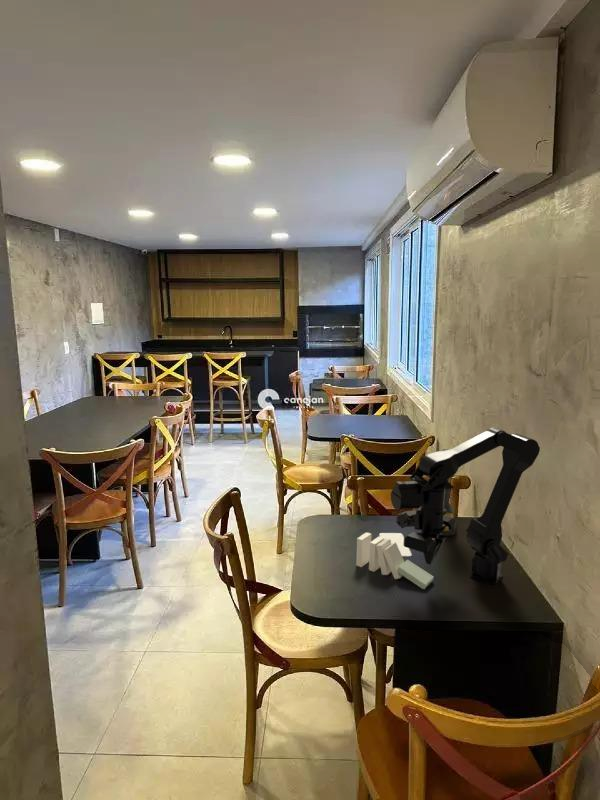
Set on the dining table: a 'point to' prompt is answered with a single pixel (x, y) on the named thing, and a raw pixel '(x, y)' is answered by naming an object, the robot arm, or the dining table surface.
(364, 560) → the tile
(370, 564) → the tile
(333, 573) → the dining table surface
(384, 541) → the tile
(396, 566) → the tile
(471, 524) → the robot arm
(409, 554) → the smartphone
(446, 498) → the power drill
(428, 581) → the tile
